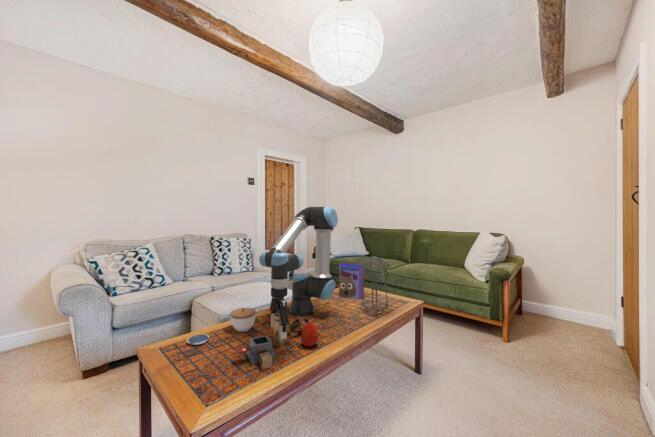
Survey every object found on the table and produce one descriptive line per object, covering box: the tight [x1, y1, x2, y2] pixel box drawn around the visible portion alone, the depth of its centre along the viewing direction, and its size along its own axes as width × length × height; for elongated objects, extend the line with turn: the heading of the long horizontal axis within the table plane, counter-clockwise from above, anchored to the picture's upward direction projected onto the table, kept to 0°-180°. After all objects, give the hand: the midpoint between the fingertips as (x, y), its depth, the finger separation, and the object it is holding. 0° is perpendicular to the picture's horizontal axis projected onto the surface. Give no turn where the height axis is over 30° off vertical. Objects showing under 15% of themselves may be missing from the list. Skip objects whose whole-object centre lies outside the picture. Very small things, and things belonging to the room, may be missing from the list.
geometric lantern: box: [358, 255, 392, 316], centre depth 172 cm, size 16×16×35 cm
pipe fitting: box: [273, 312, 285, 349], centre depth 129 cm, size 5×5×14 cm
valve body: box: [236, 334, 277, 371], centre depth 118 cm, size 20×15×7 cm
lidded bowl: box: [229, 307, 257, 333], centre depth 145 cm, size 13×13×11 cm
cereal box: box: [338, 263, 365, 300], centre depth 200 cm, size 17×5×24 cm, turn 81°
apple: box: [300, 322, 320, 348], centre depth 130 cm, size 8×8×11 cm
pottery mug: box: [288, 317, 309, 333], centre depth 143 cm, size 12×10×8 cm
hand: (278, 332), depth 128 cm, fingers open, 13 cm apart
